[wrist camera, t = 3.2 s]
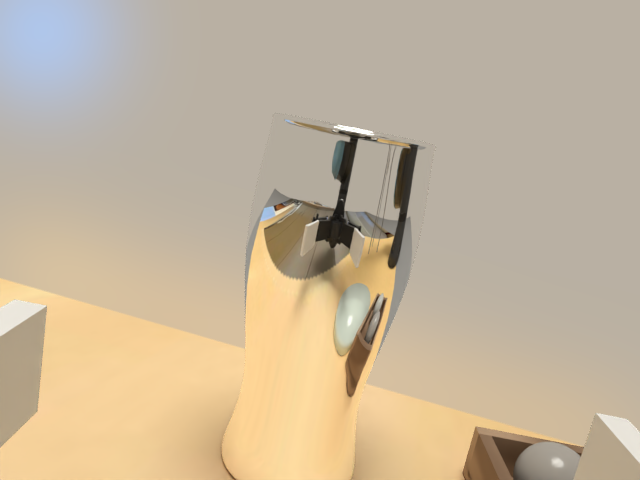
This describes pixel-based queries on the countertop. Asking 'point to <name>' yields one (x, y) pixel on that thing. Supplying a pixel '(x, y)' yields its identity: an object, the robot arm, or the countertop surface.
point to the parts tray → (498, 454)
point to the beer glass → (321, 291)
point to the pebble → (546, 462)
